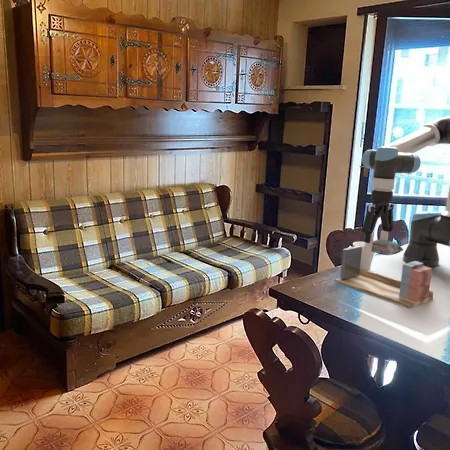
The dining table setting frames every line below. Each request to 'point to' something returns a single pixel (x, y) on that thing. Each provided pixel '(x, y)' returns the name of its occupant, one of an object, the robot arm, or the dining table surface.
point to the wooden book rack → (396, 285)
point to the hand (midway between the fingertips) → (375, 249)
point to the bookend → (351, 262)
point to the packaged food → (385, 247)
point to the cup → (364, 256)
